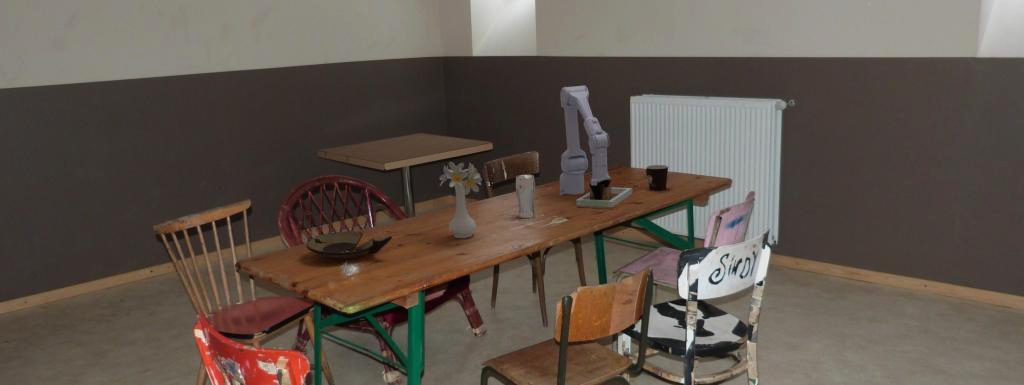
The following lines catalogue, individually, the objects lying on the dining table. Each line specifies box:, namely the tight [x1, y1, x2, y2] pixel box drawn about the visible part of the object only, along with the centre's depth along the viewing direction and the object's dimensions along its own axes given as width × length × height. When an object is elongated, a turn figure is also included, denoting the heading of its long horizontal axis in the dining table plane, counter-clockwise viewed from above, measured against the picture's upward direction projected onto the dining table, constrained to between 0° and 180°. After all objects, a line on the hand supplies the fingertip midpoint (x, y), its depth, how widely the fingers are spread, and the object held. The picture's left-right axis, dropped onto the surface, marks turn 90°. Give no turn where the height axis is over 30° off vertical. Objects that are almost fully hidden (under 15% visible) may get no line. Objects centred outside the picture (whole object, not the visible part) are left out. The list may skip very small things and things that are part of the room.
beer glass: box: [515, 174, 536, 219], centre depth 309 cm, size 7×7×15 cm
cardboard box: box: [589, 186, 613, 201], centre depth 323 cm, size 7×5×6 cm
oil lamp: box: [306, 231, 393, 260], centre depth 269 cm, size 22×30×8 cm
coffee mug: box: [645, 164, 669, 192], centre depth 342 cm, size 12×9×10 cm
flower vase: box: [439, 161, 483, 239], centre depth 285 cm, size 13×18×25 cm
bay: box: [576, 186, 633, 210], centre depth 328 cm, size 14×25×3 cm, turn 155°
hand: (600, 200), depth 324 cm, fingers closed on cardboard box, 5 cm apart
